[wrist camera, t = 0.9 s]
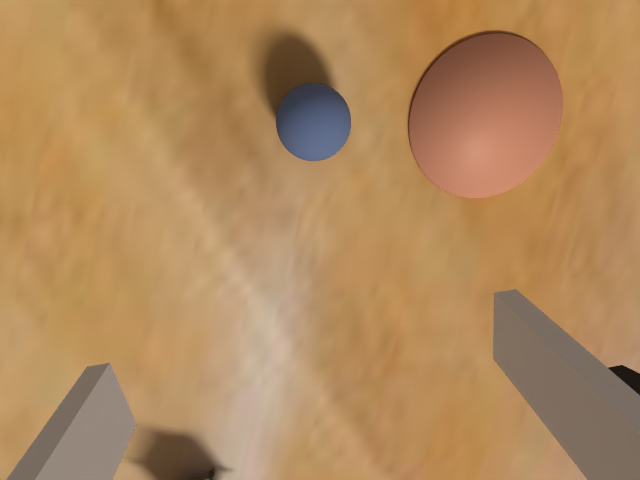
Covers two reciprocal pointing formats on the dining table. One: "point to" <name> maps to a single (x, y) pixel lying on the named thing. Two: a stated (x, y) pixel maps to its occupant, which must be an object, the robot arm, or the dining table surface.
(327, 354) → the dining table surface
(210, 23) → the dining table surface
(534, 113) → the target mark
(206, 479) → the game die
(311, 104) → the ball
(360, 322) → the dining table surface
